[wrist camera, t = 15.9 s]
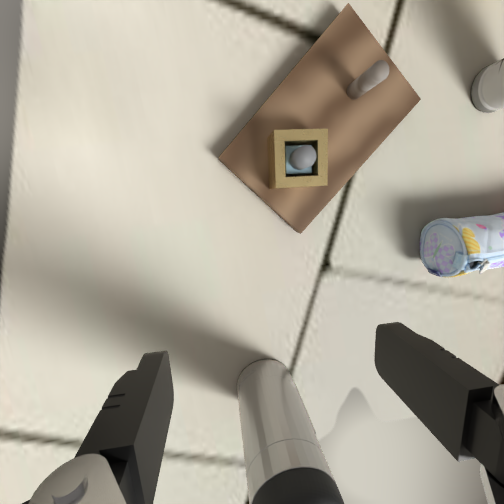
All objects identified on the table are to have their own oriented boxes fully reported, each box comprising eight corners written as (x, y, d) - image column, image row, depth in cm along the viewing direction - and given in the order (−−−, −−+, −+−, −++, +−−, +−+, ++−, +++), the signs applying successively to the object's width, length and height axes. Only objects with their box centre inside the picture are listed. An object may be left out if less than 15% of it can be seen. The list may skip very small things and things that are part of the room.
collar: (315, 136, 33) (327, 128, 30) (315, 186, 35) (327, 185, 31) (267, 137, 33) (273, 129, 29) (269, 189, 34) (275, 188, 30)
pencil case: (411, 269, 42) (465, 289, 33) (412, 217, 40) (471, 223, 31) (521, 252, 44) (601, 267, 35) (528, 202, 42) (614, 203, 33)
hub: (303, 149, 34) (319, 140, 28) (303, 174, 34) (319, 170, 29) (279, 150, 33) (291, 141, 28) (280, 175, 34) (292, 171, 29)
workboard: (409, 104, 36) (458, 81, 29) (296, 231, 38) (315, 239, 31) (340, 14, 33) (376, -38, 25) (218, 159, 34) (219, 149, 27)
